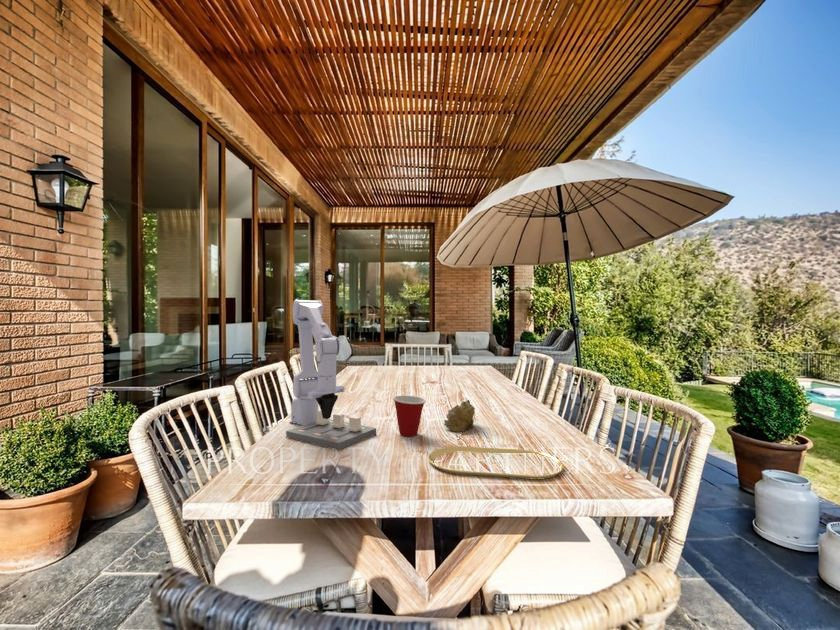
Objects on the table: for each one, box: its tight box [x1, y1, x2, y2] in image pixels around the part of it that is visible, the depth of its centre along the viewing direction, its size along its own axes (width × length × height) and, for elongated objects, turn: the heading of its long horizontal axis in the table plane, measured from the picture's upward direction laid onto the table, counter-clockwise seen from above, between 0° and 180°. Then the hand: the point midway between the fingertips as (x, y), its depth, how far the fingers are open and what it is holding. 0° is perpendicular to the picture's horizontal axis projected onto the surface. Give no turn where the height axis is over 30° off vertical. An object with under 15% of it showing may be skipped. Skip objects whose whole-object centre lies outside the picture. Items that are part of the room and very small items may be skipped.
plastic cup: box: [393, 395, 427, 438], centre depth 135 cm, size 11×11×12 cm
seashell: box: [443, 399, 476, 433], centre depth 144 cm, size 11×14×10 cm
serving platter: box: [428, 445, 564, 480], centre depth 109 cm, size 19×35×2 cm, turn 82°
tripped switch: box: [331, 412, 346, 428], centre depth 135 cm, size 3×3×4 cm
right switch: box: [348, 415, 362, 432], centre depth 131 cm, size 3×3×4 cm
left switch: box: [316, 410, 330, 425], centre depth 138 cm, size 3×3×4 cm
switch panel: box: [285, 418, 377, 451], centre depth 132 cm, size 22×18×2 cm
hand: (326, 418), depth 130 cm, fingers closed
